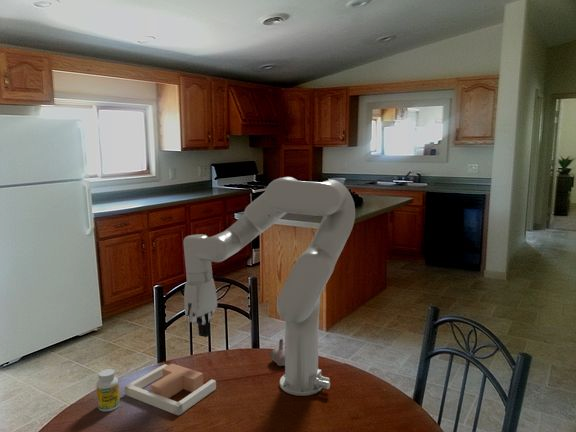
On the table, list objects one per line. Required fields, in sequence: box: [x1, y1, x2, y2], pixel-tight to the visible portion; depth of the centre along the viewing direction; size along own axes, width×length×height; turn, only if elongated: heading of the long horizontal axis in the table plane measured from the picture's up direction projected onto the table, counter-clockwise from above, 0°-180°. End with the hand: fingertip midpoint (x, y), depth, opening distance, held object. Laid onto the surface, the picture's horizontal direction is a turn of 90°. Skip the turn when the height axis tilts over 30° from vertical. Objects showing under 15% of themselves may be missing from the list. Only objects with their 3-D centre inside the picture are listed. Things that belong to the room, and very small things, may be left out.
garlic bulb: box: [270, 338, 285, 367], centre depth 141 cm, size 8×7×8 cm
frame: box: [124, 363, 217, 417], centre depth 124 cm, size 20×15×2 cm
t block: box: [150, 363, 204, 399], centre depth 125 cm, size 12×12×4 cm
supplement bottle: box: [95, 368, 121, 412], centre depth 117 cm, size 5×5×10 cm
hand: (204, 335), depth 134 cm, fingers closed
